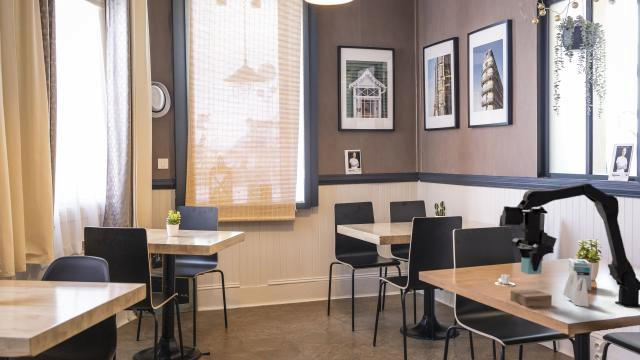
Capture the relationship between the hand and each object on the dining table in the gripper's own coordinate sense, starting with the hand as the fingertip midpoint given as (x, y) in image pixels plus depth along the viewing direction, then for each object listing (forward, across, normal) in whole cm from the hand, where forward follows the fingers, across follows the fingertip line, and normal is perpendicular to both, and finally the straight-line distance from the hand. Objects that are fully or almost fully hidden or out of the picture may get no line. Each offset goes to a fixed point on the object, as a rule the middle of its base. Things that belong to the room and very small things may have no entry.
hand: (531, 269), depth 219 cm
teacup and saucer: (+13, +32, -9) cm, 36 cm away
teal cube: (+1, 0, 0) cm, 1 cm away
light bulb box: (+12, +21, -33) cm, 41 cm away
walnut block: (+12, 0, 0) cm, 12 cm away
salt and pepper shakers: (+12, -2, -16) cm, 20 cm away
